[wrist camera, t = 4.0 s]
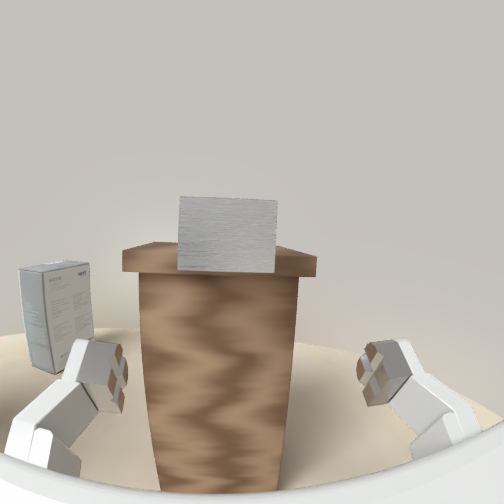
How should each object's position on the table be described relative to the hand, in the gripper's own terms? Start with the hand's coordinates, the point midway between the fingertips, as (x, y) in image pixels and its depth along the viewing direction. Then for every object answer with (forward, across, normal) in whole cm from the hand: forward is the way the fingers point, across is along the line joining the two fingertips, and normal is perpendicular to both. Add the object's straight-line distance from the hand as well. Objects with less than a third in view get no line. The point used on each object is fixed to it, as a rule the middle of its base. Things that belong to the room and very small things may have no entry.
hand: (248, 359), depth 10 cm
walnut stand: (+5, -1, -30) cm, 30 cm away
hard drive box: (+29, -33, -44) cm, 62 cm away
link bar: (+14, -1, -5) cm, 15 cm away
